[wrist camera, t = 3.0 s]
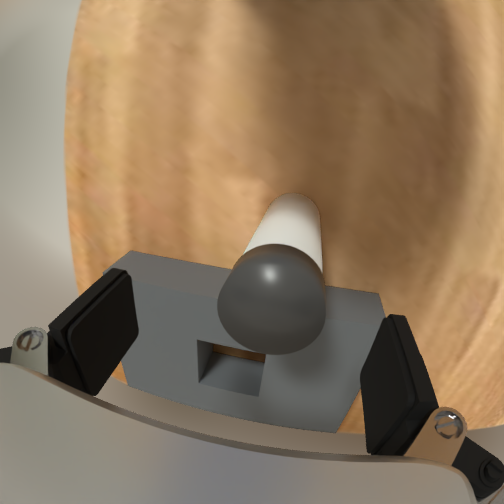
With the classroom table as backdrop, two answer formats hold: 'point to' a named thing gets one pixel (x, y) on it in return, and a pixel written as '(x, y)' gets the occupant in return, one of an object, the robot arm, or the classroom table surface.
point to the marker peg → (278, 281)
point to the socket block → (238, 369)
